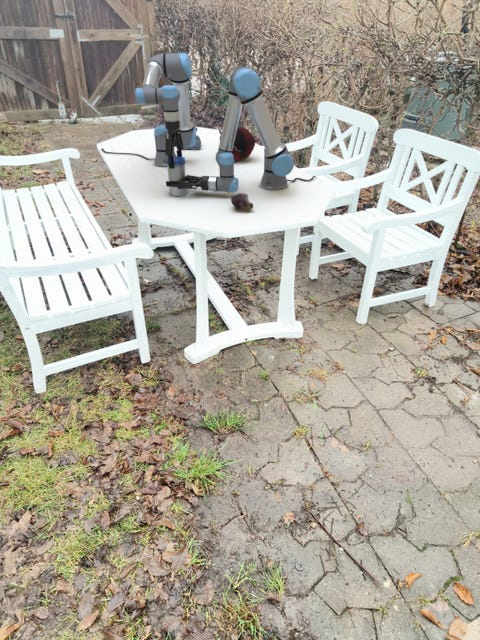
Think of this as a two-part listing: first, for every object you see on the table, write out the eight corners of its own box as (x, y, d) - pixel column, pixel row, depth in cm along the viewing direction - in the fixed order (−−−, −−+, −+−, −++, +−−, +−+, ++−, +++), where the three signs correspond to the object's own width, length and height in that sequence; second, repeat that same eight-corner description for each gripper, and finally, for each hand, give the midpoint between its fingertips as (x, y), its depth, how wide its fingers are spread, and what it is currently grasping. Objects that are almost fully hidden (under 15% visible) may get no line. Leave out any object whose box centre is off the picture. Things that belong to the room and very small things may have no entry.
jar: (174, 197, 241) (171, 163, 231) (167, 192, 247) (164, 159, 237) (189, 194, 245) (187, 161, 235) (182, 189, 251) (179, 157, 241)
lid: (164, 165, 233) (163, 160, 232) (169, 159, 241) (169, 155, 240) (182, 165, 232) (182, 161, 231) (187, 160, 240) (186, 156, 239)
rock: (244, 206, 231) (227, 209, 227) (243, 189, 228) (226, 192, 224) (256, 210, 222) (238, 213, 218) (255, 192, 218) (237, 195, 214)
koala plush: (201, 150, 322) (199, 120, 311) (176, 150, 321) (173, 121, 310) (201, 144, 336) (199, 116, 325) (177, 144, 335) (174, 116, 324)
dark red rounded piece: (216, 132, 305) (216, 129, 282) (250, 124, 304) (252, 121, 281) (223, 164, 312) (223, 164, 288) (256, 157, 311) (259, 156, 288)
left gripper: (174, 115, 235) (178, 159, 247) (155, 124, 217) (160, 171, 230) (187, 116, 233) (190, 160, 245) (169, 125, 215) (173, 172, 228)
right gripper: (204, 197, 232) (163, 194, 237) (215, 184, 250) (176, 181, 254) (203, 182, 228) (161, 180, 232) (214, 170, 246) (175, 168, 250)
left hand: (176, 165), depth 238 cm, fingers closed on lid, 10 cm apart
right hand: (169, 180), depth 243 cm, fingers closed on jar, 9 cm apart
